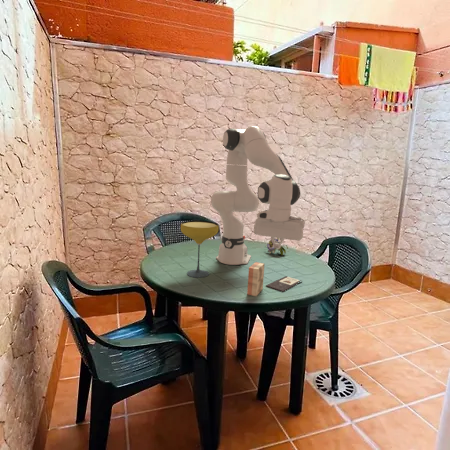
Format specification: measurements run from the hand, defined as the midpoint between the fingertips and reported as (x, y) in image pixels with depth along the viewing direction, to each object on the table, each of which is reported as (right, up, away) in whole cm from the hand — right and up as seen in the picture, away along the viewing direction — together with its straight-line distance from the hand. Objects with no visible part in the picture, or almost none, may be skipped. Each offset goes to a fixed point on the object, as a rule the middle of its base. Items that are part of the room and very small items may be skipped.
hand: (276, 247), depth 142 cm
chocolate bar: (+6, -19, +18) cm, 27 cm away
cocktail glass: (-35, -15, +26) cm, 46 cm away
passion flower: (+10, -8, +69) cm, 70 cm away
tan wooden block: (-8, -20, +7) cm, 23 cm away
